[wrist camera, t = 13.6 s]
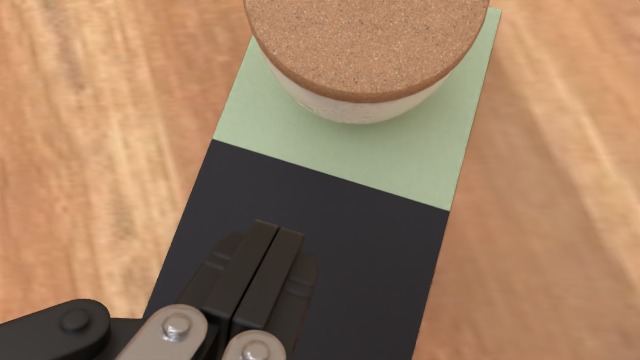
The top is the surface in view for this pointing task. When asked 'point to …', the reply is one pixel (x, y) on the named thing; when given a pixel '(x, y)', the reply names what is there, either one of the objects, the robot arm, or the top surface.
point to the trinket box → (363, 51)
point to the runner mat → (336, 202)
